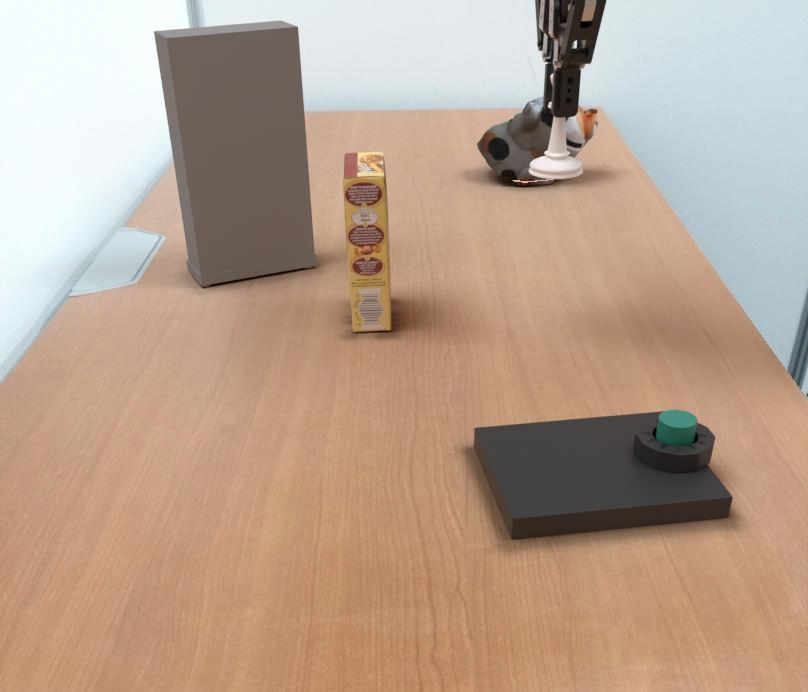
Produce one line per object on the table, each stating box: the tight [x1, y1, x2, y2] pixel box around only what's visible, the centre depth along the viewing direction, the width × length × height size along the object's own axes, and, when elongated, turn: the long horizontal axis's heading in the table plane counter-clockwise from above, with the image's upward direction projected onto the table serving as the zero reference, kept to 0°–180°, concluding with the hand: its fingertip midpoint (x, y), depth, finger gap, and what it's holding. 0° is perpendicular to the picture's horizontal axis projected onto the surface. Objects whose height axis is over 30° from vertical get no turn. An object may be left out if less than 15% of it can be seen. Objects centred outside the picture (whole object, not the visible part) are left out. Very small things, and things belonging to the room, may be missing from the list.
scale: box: [473, 410, 734, 541], centre depth 72 cm, size 17×13×4 cm
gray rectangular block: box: [153, 20, 318, 288], centre depth 104 cm, size 14×6×25 cm, turn 115°
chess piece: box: [529, 74, 584, 180], centre depth 84 cm, size 5×5×10 cm
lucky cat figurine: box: [476, 96, 599, 187], centre depth 137 cm, size 15×12×14 cm
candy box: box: [342, 151, 392, 333], centre depth 95 cm, size 9×4×15 cm, turn 2°
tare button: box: [656, 409, 698, 447], centre depth 71 cm, size 3×3×2 cm
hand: (559, 111), depth 84 cm, fingers closed on chess piece
